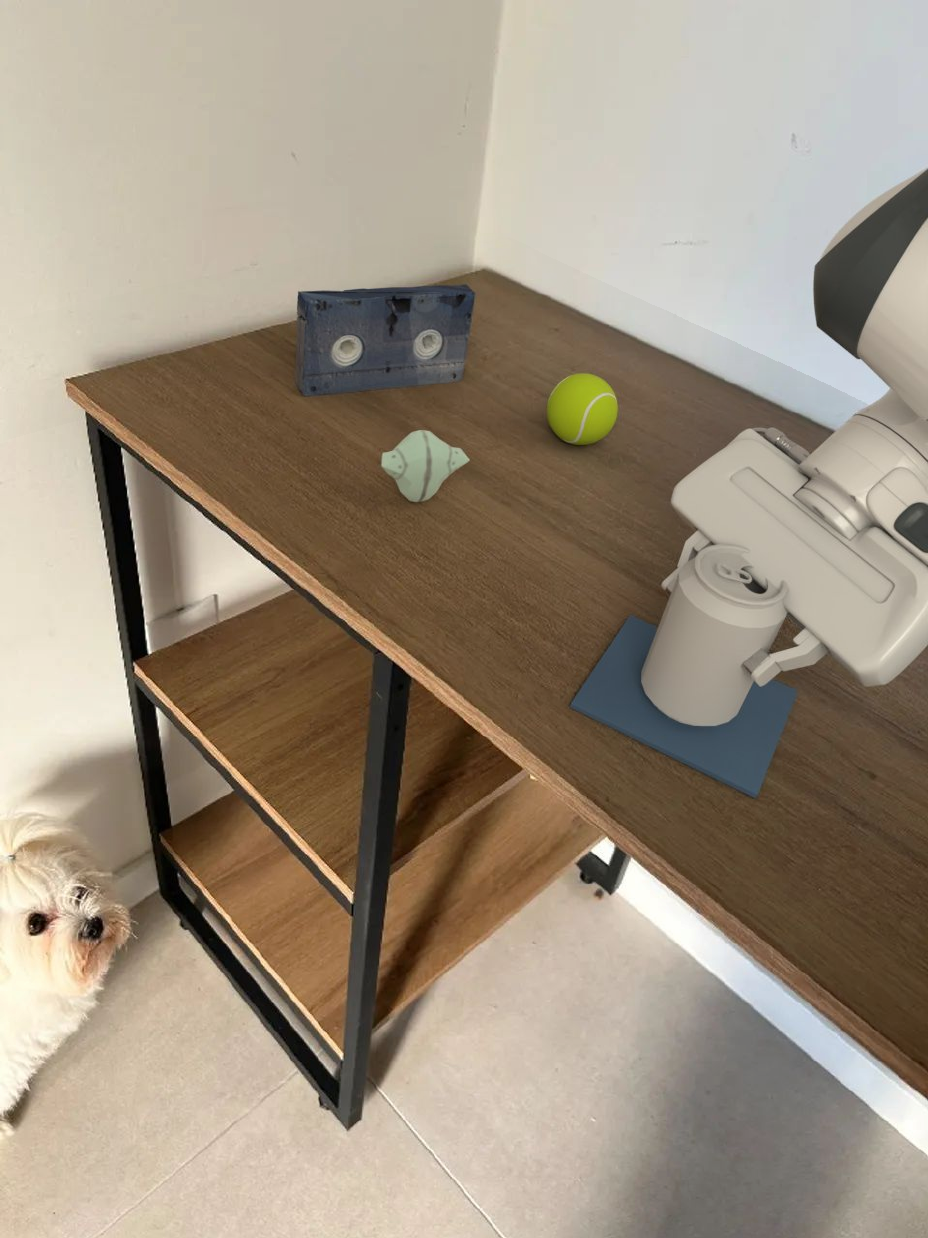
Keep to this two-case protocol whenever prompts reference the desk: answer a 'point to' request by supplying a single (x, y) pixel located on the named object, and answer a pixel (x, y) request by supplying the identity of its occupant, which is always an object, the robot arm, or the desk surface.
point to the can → (711, 638)
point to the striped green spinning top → (422, 464)
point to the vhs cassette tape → (381, 338)
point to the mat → (713, 750)
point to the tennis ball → (582, 409)
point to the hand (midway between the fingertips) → (708, 635)
